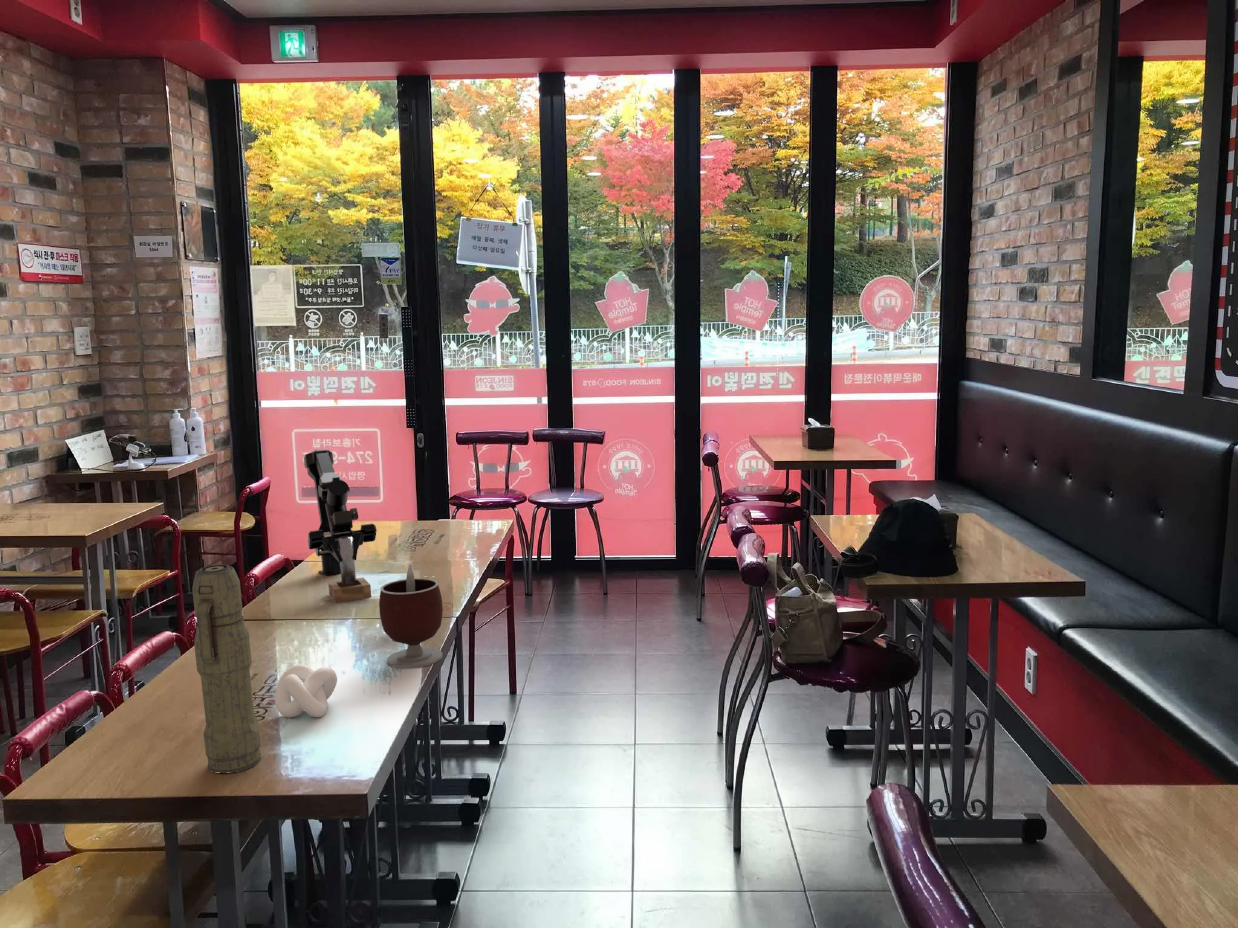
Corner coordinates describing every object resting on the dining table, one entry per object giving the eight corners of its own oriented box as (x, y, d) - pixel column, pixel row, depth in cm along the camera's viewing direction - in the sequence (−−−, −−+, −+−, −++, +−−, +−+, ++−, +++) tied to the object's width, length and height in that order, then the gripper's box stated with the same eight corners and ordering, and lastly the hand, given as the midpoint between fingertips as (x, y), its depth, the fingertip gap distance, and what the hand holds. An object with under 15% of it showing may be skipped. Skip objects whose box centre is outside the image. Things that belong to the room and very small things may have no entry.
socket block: (329, 594, 280) (328, 582, 279) (364, 588, 284) (363, 577, 283) (335, 602, 271) (334, 590, 270) (371, 596, 275) (370, 584, 274)
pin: (338, 583, 276) (334, 538, 274) (348, 579, 279) (344, 535, 278) (349, 584, 274) (345, 539, 272) (359, 580, 278) (355, 536, 276)
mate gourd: (445, 665, 215) (439, 578, 212) (381, 672, 213) (374, 583, 210) (446, 644, 230) (440, 561, 227) (386, 649, 228) (379, 566, 225)
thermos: (196, 780, 164) (174, 578, 159) (220, 750, 175) (199, 561, 170) (250, 776, 164) (229, 575, 159) (270, 746, 176) (251, 558, 171)
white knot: (340, 720, 187) (336, 675, 186) (274, 730, 184) (269, 684, 182) (339, 699, 198) (335, 657, 196) (277, 708, 194) (273, 665, 193)
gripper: (305, 503, 273) (314, 549, 265) (372, 496, 281) (383, 540, 273) (304, 526, 281) (313, 571, 273) (369, 518, 289) (380, 561, 281)
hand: (347, 560), depth 275 cm, fingers closed on pin, 4 cm apart
